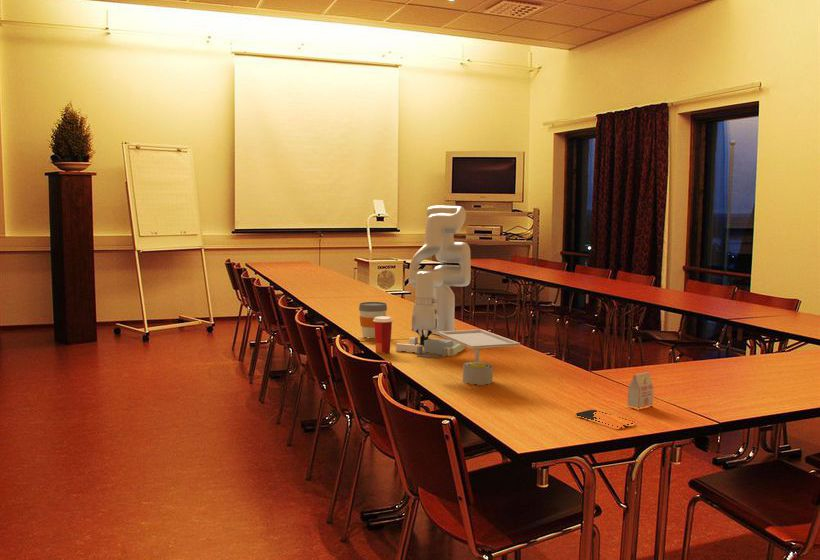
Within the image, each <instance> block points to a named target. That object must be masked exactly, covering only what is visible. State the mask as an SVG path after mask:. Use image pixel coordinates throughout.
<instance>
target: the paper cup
mask: <svg viewBox="0 0 820 560" xmlns="http://www.w3.org/2000/svg"><path fill="white" fill-rule="evenodd" d="M392 318H393V317H391V316H387V315H386V316H380V317H375V318H374V320H373V321H374V329H375V339H374V345H375V353H376V352H377V353H376V354H380V353H386V354H390V353H389V352H390V351H391V340H392V328H393V327H392V325H393V319H392Z"/></svg>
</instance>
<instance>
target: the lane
mask: <svg viewBox="0 0 820 560" xmlns="http://www.w3.org/2000/svg"><path fill="white" fill-rule="evenodd" d="M418 338H419V336H413V337H409V338H408V343H396V344H395V352H401V351H406V352H405V353H412V352H415V354H416V357H417V356H418V357H417V358H427V359H429V358H430V359H438V358H439V359H440V358H446V357H454V356H456V355H457V354H459V353H461V352H462V351H463V350H464V351H465V347H466V346H463V345H461V344H459V343H456V342H454V341H453V347H451V348H448V347H446V348H444V349H442V354H434V353H426V352H424V347H423V345H421V344H420V342H418V341H419V339H418ZM415 344H419V345H415ZM458 352H459V353H458ZM417 354H419V355H417ZM447 355H448V356H447ZM453 355H454V356H453ZM445 356H446V357H445Z"/></svg>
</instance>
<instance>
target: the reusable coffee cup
mask: <svg viewBox="0 0 820 560" xmlns="http://www.w3.org/2000/svg"><path fill="white" fill-rule="evenodd" d="M358 311H359V323H360V327H361V331H362V338H364V337H369V338H375V329H374V321H373V320H374V318H375V317H380V316H386V317H387V315H386V314H387V311H388V306H387V302H382V301H365V302H360V303H359V305H358ZM369 338H368V339H369Z"/></svg>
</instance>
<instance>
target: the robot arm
mask: <svg viewBox="0 0 820 560" xmlns="http://www.w3.org/2000/svg"><path fill="white" fill-rule="evenodd" d="M466 217H467V214H466V209H465V208H464V207H463V206H461V205H432V206H429V207H428V208H427V209H426V218H427V219H426V224H425V225H426V226H425V231H424V239H423V245H422V247H420V248H419V250H417V251H416V252H415V253H414V255H413V257H412V258H411V260H410V264H409V270H408V283H409V285H410V286H411V287H414V288H415V300H414V301H415V304H413V308H412V312H411V313H412V315H411V332H415V333H417V335H418V338H419V343H420V344H421V345H423V348H424V340H427V339H429V337H430V335H435V334H436V336H438V335H437V332H440V331H458V330H456V329H455V308H456V307H455V306H456V305H455V304H456V303H455V301H456V300H455V298H456V297H455V293H454V292H453V289H451V287H467V286H469V285H470V283H471V278H472V276H471V271H472V269H471V262H472V261H471V248H470V245H469V244H468V243H467V242H464V241H455V239H454V234H458V233H459V232H460V231H461V230H462V227H463V225H464V224H465V221H466ZM433 256H435V259H436V261H437V262H440V263H449V264H439V265H436V266H435V267H434V268H433V269H432V268H431V269H430V268H429V269H428V268H425V269H424V268H419V265H420V264H421V263H422V262H423V261H424V260H426V259H428V258H430V257H433ZM451 263H452V264H451ZM453 264H454V265H453ZM455 264H457V265H455ZM458 264H459V265H458Z"/></svg>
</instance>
